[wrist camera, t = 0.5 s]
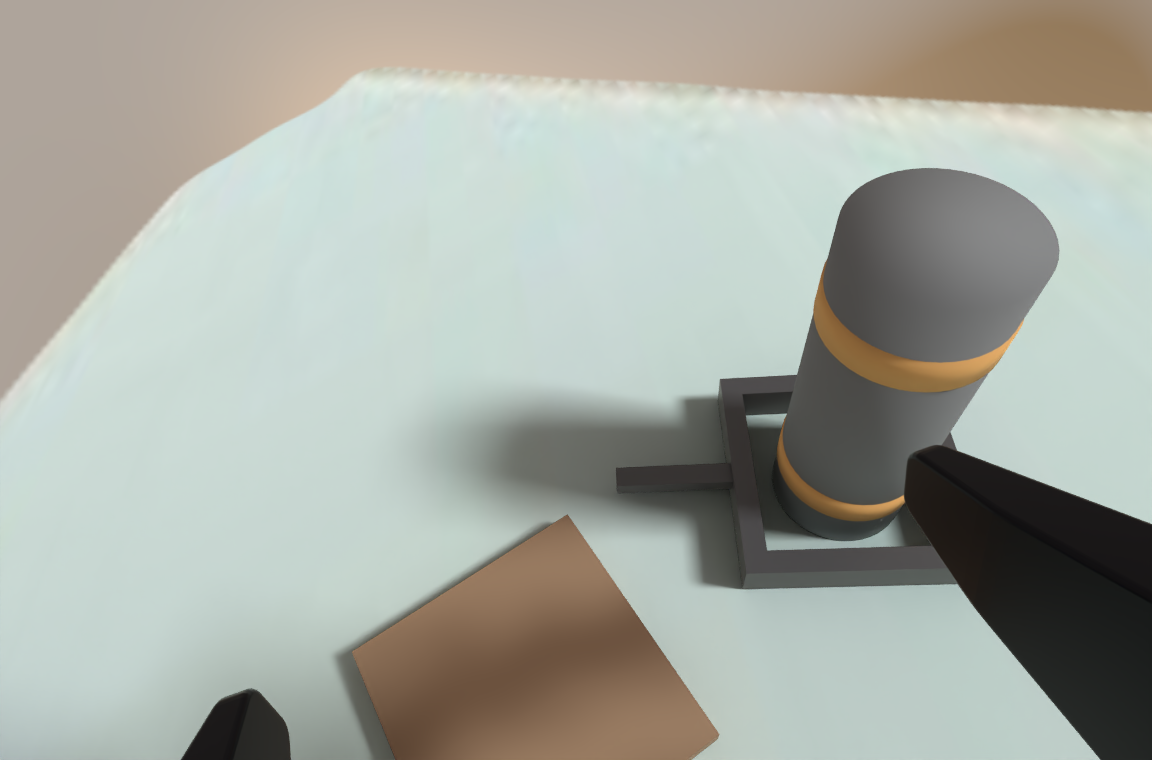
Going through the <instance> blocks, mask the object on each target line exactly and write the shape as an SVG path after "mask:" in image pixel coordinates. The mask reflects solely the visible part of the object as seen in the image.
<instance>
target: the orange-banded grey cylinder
mask: <svg viewBox="0 0 1152 760" xmlns="http://www.w3.org/2000/svg"><path fill="white" fill-rule="evenodd" d="M1058 260H1059V244H1058V239H1057V236H1056V233H1055V231H1054V229H1053V227H1052V225H1051V223H1050V222H1049V220H1048V219H1047V218H1046V216H1045V215H1044V214H1043V213H1042V212H1041V211H1040V210H1039V209H1038V208H1037V207H1036V206H1035V205H1034V204H1033V203H1032V202H1031V201H1029V200H1028V199H1027V198H1026V197H1024V196H1023V195H1021V194H1019V193H1018V192H1016V191H1015V190H1013V189H1011V188H1009V187H1007V186H1005V185H1003V184H1001V183H999V182H996V181H994V180H991V179H989V178H985V177H982V176H979V175H976V174H972V173H967V172H963V171H957V170H950V169H938V168H921V169H909V170H903V171H897V172H893V173H890V174H886V175H883V176H881V177H878V178H875V179H873V180H871V181H869V182H867V183H866V184H864V185H863V186H861V187H860V188H858V189H857V190H856V191H855V192H854V193H853V194H851V196H850V197H849V198H848V199H847V200H846V202H845V203H844V205H843V207H842V209H841V211H840V214H839V217H838V221H837V225H836V229H835V232H834V236H833V240H832V244H831V248H830V252H829V255H828V259H827V261H826V262H825V265H824V268H823V271H822V274H821V278H820V282H819V286H818V290H817V294H816V298H815V302H814V309H813V311H814V313H813V317H812V320H811V324H810V328H809V332H808V336H807V339H806V343H805V347H804V351H803V355H802V359H801V362H800V366H799V370H798V374H797V378H796V381H795V385H794V389H793V393H792V397H791V401H790V404H789V408H788V412H787V415H786V417H785V419H784V422H783V426H782V429H781V433H780V437H779V441H778V446H777V454H776V458H775V462H774V466H773V471H772V482H773V488H774V492H775V495H776V497H777V499H778V501H779V503H780V505H781V506H782V508H783V509H784V511H785V512H786V513H787V514H788V516H790V517H791V518H792V519H793V520H794V521H795V522H796V523H797V524H799V525H800V526H801V527H803V528H804V529H806V530H808V531H809V532H812V533H814V534H816V535H818V536H821V537H824V538H828V539H833V540H840V541H854V540H861V539H864V538H868V537H871V536H873V535H875V534H877V533H879V532H880V531H882V530H883V529H885V528H886V527H887V526H888V525H889V524H890V523H891V521H892V520H893V519H894V517H895V516H896V514H897V513H898V511H899V510H900V508H901V507H902V505H904V504H905V500H904V485H905V475H906V465H907V459H908V457H909V456H910V454H911V453H913V452H915V451H918V450H921V449H924V448H927V447H929V446H933V445H942V444H943V442H944V441H945V439H946V438H947V436H948V435H949V433H950V432H951V430H952V428H953V427H954V425H955V424H956V422H957V421H958V419H959V418H960V416H961V415H962V413H963V412H964V410H965V408H966V407H967V405H968V404H969V402H970V401H971V399H972V398H973V396H974V395H975V393H976V392H977V390H978V389H979V387H980V385H981V384H982V382H983V381H984V379H985V378H986V376H987V375H988V373H989V372H990V371H991V370H992V369H993V368H994V367H995V365H996V364H997V363H998V362H999V360H1000V359H1001V357H1002V356H1003V354H1004V353H1005V351H1006V350H1007V348H1008V347H1009V345H1010V344H1011V342H1012V340H1013V339H1014V337H1015V336H1016V334H1017V333H1018V331H1019V329H1020V328H1021V326H1022V324H1023V321H1024V318H1025V316H1026V315H1027V313H1028V312H1029V310H1030V309H1031V307H1032V306H1033V304H1034V303H1035V301H1036V299H1037V298H1038V296H1039V295H1040V293H1041V292H1042V290H1043V289H1044V287H1045V286H1046V284H1047V283H1048V281H1049V279H1050V278H1051V276H1052V275H1053V273H1054V271H1055V269H1056V266H1057V263H1058Z"/></svg>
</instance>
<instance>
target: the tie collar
mask: <svg viewBox="0 0 1152 760" xmlns="http://www.w3.org/2000/svg"><path fill="white" fill-rule="evenodd" d="M796 378H797V375H787V376H768V377H750V378H731V379H720V385H719V394H718V406H719V413H720V421H721V428H722V436H723V444H724V451H725V459H726V463H721V464H697V465H674V466H650V467H626V468H616V477H617V492H618V493H637V492H663V491H689V490H715V489H730V497H731V505H732V512H733V520H734V528H735V535H736V543H737V550H738V558H739V566H740V573H741V581H742V589H763V588H803V587H844V586H885V585H926V584H957V582H956V581H955V579H954V578H953V576H952V575H951V573H950V572H949V570H948V569H947V567H946V566H945V564H944V563H943V561H942V560H941V558H940V557H939V555H938V554H937V552H936V551H935V549H934V548H933V546H905V547H872V548H838V549H805V550H771V551H767V548H766V542H765V535H764V529H763V523H762V516H761V510H760V503H759V497H758V491H757V484H756V478H755V472H754V465H753V459H752V453H751V446H750V440H749V434H748V427H747V421H746V415H754V414H774V413H787V412H788V408H789V404H790V401H791V397H792V393H793V389H794V385H795V381H796ZM942 446H946V447H949V448H951V449H954V450H957V449H956V447H955V444H954V441H953V438H952V435H951V433H949V435H948V436H947V438H946V439H945V441H944V442H943V444H942Z"/></svg>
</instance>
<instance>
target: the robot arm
mask: <svg viewBox="0 0 1152 760" xmlns="http://www.w3.org/2000/svg"><path fill="white" fill-rule="evenodd" d="M904 500H905V504H906V506H907V508H908V510H909V512H910V514H911V515H912V517H913V518H914V520H915V521H916V523H917V524H918V526H919V527H920V529H921V530H922V532H923V533H924V535H925V536H926V538H927V539H928V540H929V542H930V543H931V545H932V546H933V548H934V549H935V551H936V552H937V554H938V555H939V557H940V558H941V560H942V561H943V563H944V564H945V566H946V567H947V569H948V570H949V572H950V573H951V575H952V576H953V578H954V579H955V581H956V582H957V584H958V585H959V587H960V588H961V590H962V591H963V592H964V594H965V595H966V597H967V598H968V599H969V601H970V602H971V604H972V605H973V606H974V608H975V609H976V610H977V611H978V613H979V614H980V615H981V616H982V618H983V619H984V620H985V621H986V623H987V624H988V625H989V626H990V627H991V629H992V630H993V631H994V632H995V633H996V635H997V636H998V637H999V638H1000V639H1001V641H1002V642H1003V643H1004V644H1005V645H1006V647H1007V648H1008V649H1009V650H1010V651H1011V653H1012V654H1013V655H1014V656H1015V657H1016V659H1017V660H1018V661H1019V662H1020V663H1021V665H1022V666H1023V667H1024V668H1025V669H1026V671H1027V672H1028V673H1029V674H1030V675H1031V677H1032V678H1033V679H1034V680H1035V682H1036V683H1037V684H1038V685H1039V686H1040V688H1041V689H1042V690H1043V691H1044V692H1045V694H1046V695H1047V696H1048V697H1049V698H1050V700H1051V701H1052V702H1053V703H1054V704H1055V706H1056V707H1057V708H1058V709H1059V710H1060V712H1061V713H1062V714H1063V715H1064V716H1065V718H1066V719H1067V720H1068V721H1069V722H1070V724H1071V725H1072V726H1073V727H1074V728H1075V730H1076V731H1077V732H1078V733H1079V734H1080V736H1081V737H1082V738H1083V739H1084V740H1085V742H1086V743H1087V744H1088V745H1089V746H1090V748H1091V749H1092V750H1093V751H1094V752H1095V754H1096V755H1097V756H1098V757H1099V758H1100V760H1152V524H1150V523H1148V522H1145V521H1142V520H1140V519H1137V518H1134V517H1132V516H1129V515H1126V514H1124V513H1121V512H1118V511H1116V510H1113V509H1111V508H1108V507H1105V506H1103V505H1100V504H1097V503H1095V502H1092V501H1089V500H1087V499H1084V498H1081V497H1079V496H1076V495H1073V494H1071V493H1068V492H1065V491H1063V490H1060V489H1057V488H1055V487H1052V486H1050V485H1047V484H1044V483H1042V482H1039V481H1036V480H1034V479H1031V478H1028V477H1026V476H1023V475H1020V474H1018V473H1015V472H1012V471H1010V470H1007V469H1004V468H1002V467H999V466H996V465H994V464H991V463H988V462H986V461H983V460H981V459H978V458H975V457H973V456H970V455H967V454H965V453H962V452H959V451H957V450H954V449H951V448H949V447H946V446H942V445H933V446H929V447H927V448H924V449H921V450H918V451H915V452H913V453H911V454H910V456H909V457H908V459H907V465H906V475H905V485H904ZM181 760H291V757H290V741H289V733H288V729H287V726H286V724H285V721H284V720H283V718H282V717H281V716H280V715H279V714H278V713H277V711H276V710H275V709H274V708H273V707H272V706H271V705H270V703H269V702H268V701H267V700H266V699H265V698H264V697H263V696H262V694H261V693H260V692H259V691H257V690H255V689H252V688H251V689H246V690H243V691H240V692H238V693H235V694H232V695H229V696H226V697H224V698H222V699H221V700H220V701H218V703H217V704H216V705H215V706H214V707H213V709H212V710H211V712H210V714H209V715H208V717H207V718H206V720H205V722H204V723H203V725H202V727H201V728H200V730H199V731H198V733H197V735H196V736H195V738H194V739H193V741H192V743H191V744H190V746H189V747H188V749H187V751H186V752H185V754H184V756H183V757H182V759H181Z"/></svg>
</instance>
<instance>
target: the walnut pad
mask: <svg viewBox="0 0 1152 760" xmlns="http://www.w3.org/2000/svg"><path fill="white" fill-rule="evenodd" d="M352 654H353V656H354V659H355V661H356V664H357V666H358V668H359V671H360V673H361V676H362V678H363V681H364V683H365V686H366V688H367V691H368V693H369V695H370V698H371V700H372V703H373V705H374V708H375V710H376V713H377V715H378V718H379V720H380V722H381V725H382V727H383V730H384V732H385V735H386V737H387V740H388V742H389V745H390V747H391V750H392V752H393V754H394V757H395V759H396V760H691V759H693V758H694V757H695V756H697V755H698V754H699V753H700V752H702V751H703V750H704V749H706V748H707V747H708V746H709V745H711V744H712V743H713V742H715V741H716V740H717V739H718V737H719V733H718V732H717V730H716V729H715V727H714V726H713V725H712V723H711V722H710V720H709V719H708V717H707V716H706V714H705V713H704V711H703V710H702V709H701V707H700V706H699V704H698V703H697V701H696V700H695V698H694V697H693V696H692V694H691V693H690V691H689V690H688V688H687V687H686V685H685V684H684V682H683V681H682V680H681V678H680V677H679V675H678V674H677V672H676V671H675V669H674V668H673V667H672V665H671V664H670V662H669V661H668V659H667V658H666V656H665V655H664V654H663V652H662V651H661V649H660V648H659V646H658V645H657V643H656V642H655V640H654V639H653V638H652V636H651V635H650V633H649V632H648V630H647V629H646V627H645V626H644V625H643V623H642V622H641V620H640V619H639V617H638V616H637V614H636V613H635V611H634V610H633V609H632V607H631V606H630V604H629V603H628V601H627V600H626V598H625V597H624V596H623V594H622V593H621V591H620V590H619V588H618V587H617V585H616V584H615V583H614V581H613V580H612V578H611V577H610V575H609V574H608V572H607V571H606V569H605V568H604V567H603V565H602V564H601V562H600V561H599V559H598V558H597V556H596V555H595V554H594V552H593V551H592V549H591V548H590V546H589V545H588V543H587V542H586V540H585V539H584V538H583V536H582V535H581V533H580V532H579V530H578V529H577V527H576V526H575V525H574V523H573V522H572V520H571V519H570V517H569V516H568V514H567V515H566V516H564V517H563V518H561V519H560V520H558V521H556V522H555V523H553V524H552V525H550V526H549V527H547V528H545V529H544V530H542V531H541V532H539V533H538V534H536V535H534V536H533V537H531V538H530V539H528V540H527V541H525V542H523V543H522V544H520V545H519V546H517V547H516V548H514V549H512V550H511V551H509V552H508V553H506V554H505V555H503V556H501V557H500V558H498V559H497V560H495V561H494V562H492V563H490V564H489V565H487V566H486V567H484V568H483V569H481V570H479V571H478V572H476V573H475V574H473V575H472V576H470V577H468V578H467V579H465V580H464V581H462V582H461V583H459V584H457V585H456V586H454V587H453V588H451V589H450V590H448V591H446V592H445V593H443V594H442V595H440V596H439V597H437V598H435V599H434V600H432V601H431V602H429V603H428V604H426V605H424V606H423V607H421V608H420V609H418V610H417V611H415V612H413V613H412V614H410V615H409V616H407V617H406V618H404V619H402V620H401V621H399V622H398V623H396V624H395V625H393V626H391V627H390V628H388V629H387V630H385V631H384V632H382V633H380V634H379V635H377V636H376V637H374V638H373V639H371V640H369V641H368V642H366V643H365V644H363V645H362V646H360V647H358V648H357V649H355V650H354V651H352Z"/></svg>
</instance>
